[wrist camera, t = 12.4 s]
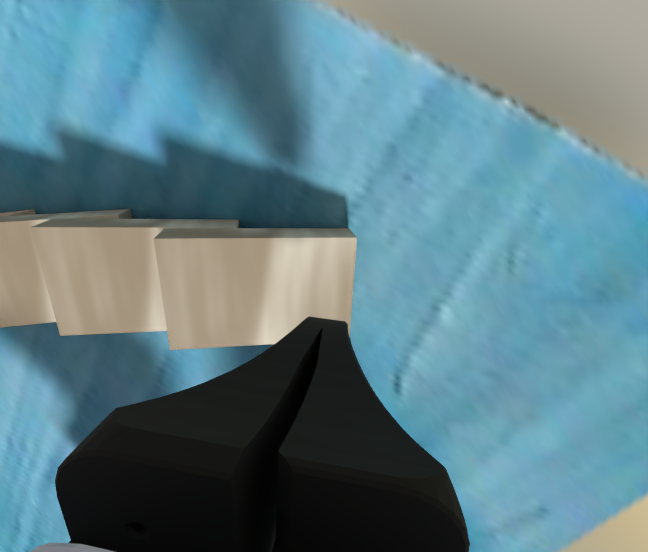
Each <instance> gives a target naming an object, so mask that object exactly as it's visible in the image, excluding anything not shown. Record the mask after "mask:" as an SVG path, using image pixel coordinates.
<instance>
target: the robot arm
mask: <svg viewBox="0 0 648 552" xmlns="http://www.w3.org/2000/svg"><path fill="white" fill-rule="evenodd" d="M55 485H56V491H57V498H58V501H59V504H60V507H61V510H62V513H63V516H64V520H65V523H66V526H67V529H68V532H69V535H70V538H71V541H70V542H69V543H48V544H44V545H41V546H38V547H37V548H35V549H33V550H32V551H30V552H469V546H470V543H469V539H468V532H467V527H466V523H465V519H464V516H463V513H462V510H461V507H460V504H459V501H458V498H457V495H456V493H455V490H454V487H453V485H452V483H451V480H450V478H449V475H448V473H447V470H446V469H445V467H444V466H443V465H442V464H440V463H439V462H438V461H437V460H436V459H435V458H433V457H432V456H431V455H430V454H429V453H428V452H427V451H425V450H424V449H423V448H422V447H421V446H420V445H419V444H417V443H416V442H415V441H414V440H413V439H412V438H411V437H410V436H409V435H408V434H407V433H406V432H405V431H404V430H403V429H402V428H401V426H400V425H399V424H398V423H397V422H396V420H395V419H394V418H393V417H392V416H391V414H390V413H389V412H388V411H387V410H386V408H385V407H384V406H383V404H382V403H381V401H380V400H379V398H378V397H377V396H376V394H375V392H374V391H373V389H372V388H371V386H370V384H369V383H368V381H367V379H366V377H365V375H364V373H363V371H362V369H361V367H360V365H359V363H358V361H357V358H356V356H355V353H354V350H353V348H352V345H351V341H350V337H349V333H348V324H347V323H346V322H345V321H339V320H331V319H324V318H317V317H310V316H309V317H307V318H306V319H305V320H303V321H302V322H301V323H300V324H299V325H298V326H297V327H295V328H294V329H293V330H292V331H291V332H289V333H288V334H287V335H286V336H284V337H283V338H282V339H281V340H279V341H278V342H277V343H276V344H274V345H273V346H271V347H270V348H269V349H267V350H266V351H264V352H263V353H261V354H260V355H258V356H257V357H255V358H254V359H252V360H250V361H249V362H247V363H245V364H243V365H241V366H239V367H237V368H236V369H234V370H232V371H230V372H227V373H225V374H223V375H221V376H218V377H216V378H214V379H211V380H209V381H207V382H205V383H202V384H199V385H197V386H194V387H191V388H188V389H186V390H183V391H179V392H176V393H173V394H170V395H167V396H163V397H160V398H156V399H152V400H148V401H144V402H140V403H136V404H132V405H128V406H124V407H119V408H116V409H115V410H114V411H113V412H111V413H110V414H109V415H108V416H107V417H106V418H105V419H104V420H103V421H102V422H101V423H100V424H99V425H98V426H97V427H96V428H95V429H94V430H93V431H92V432H91V433H90V434H89V435H88V436H87V437H86V438H85V439H84V440H83V441H82V442H81V443H80V444H79V445H78V447H77V448H76V449H75V450H74V451H73V452H72V453H71V454H70V455H69V456H68V457H67V458H66V459H65V460H64V461H63V463H62V464H61V465H60V466H59V467H58V471H57V475H56V479H55Z"/></svg>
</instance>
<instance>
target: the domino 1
mask: <svg viewBox="0 0 648 552" xmlns="http://www.w3.org/2000/svg"><path fill="white" fill-rule="evenodd" d="M52 218H60V219H133V218H132V214H131V210H130V209H119V210H103V211H87V212H70V213H54V214H37V215H21V216H4V217H0V328H2V327H11V326H21V325H31V324H41V323H50V322H56V318H55V315H54V311H53V308H52V304H51V300H50V297H49V293H48V290H47V286H46V282H45V279H44V275H43V271H42V268H41V264H40V261H39V257H38V253H37V250H36V246H35V243H34V239H33V235H32V232H31V228H30V227H32V226H35V225H37V224H40V223H42V222H45V221H47V220H50V219H52Z"/></svg>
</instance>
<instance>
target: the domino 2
mask: <svg viewBox="0 0 648 552" xmlns="http://www.w3.org/2000/svg"><path fill="white" fill-rule="evenodd" d="M30 228H31V232H32V235H33V239H34V243H35V246H36V250H37V253H38V257H39V261H40V264H41V268H42V271H43V275H44V279H45V282H46V286H47V290H48V293H49V297H50V300H51V304H52V308H53V311H54V315H55V318H56V322H57V326H58V329H59V333H60V336H66V335H87V334H109V333H130V332H152V331H167V326H166V319H165V313H164V306H163V299H162V293H161V286H160V279H159V272H158V266H157V259H156V252H155V245H154V238H155V237H156V236H157V235H158V234H159V233H160V232H161V231H162V230H163V229H164V228H239V220H238V219H60V218H52V219H50V220H47V221H45V222H42V223H40V224H37V225H35V226H32V227H30Z"/></svg>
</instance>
